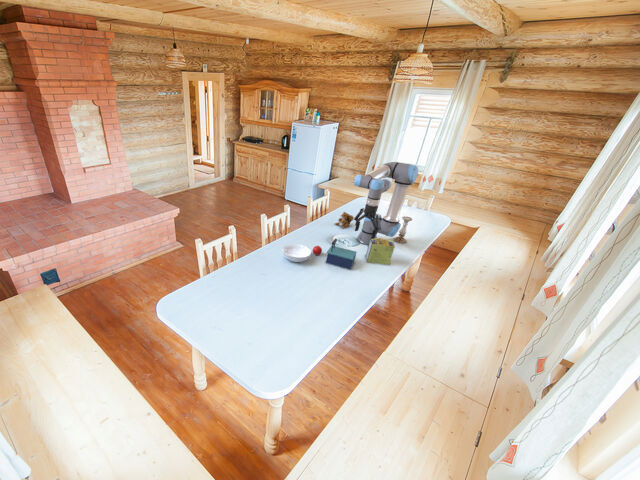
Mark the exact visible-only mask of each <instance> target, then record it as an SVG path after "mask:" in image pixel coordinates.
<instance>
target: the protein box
mask: <svg viewBox="0 0 640 480" xmlns="http://www.w3.org/2000/svg"><path fill="white" fill-rule="evenodd" d="M395 247H396V246H395V243H394V241H393V239H387V238H386V239H385V238H374V239H371V238H370V242H369V245H367V250H366V253H365V258H366V263H370V264H378V265H386V266H387V265H388V266H389V265H390V263H391V259H392V256H393V254H394V251H395V249H396V248H395Z"/></svg>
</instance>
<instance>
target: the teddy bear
mask: <svg viewBox="0 0 640 480" xmlns="http://www.w3.org/2000/svg"><path fill="white" fill-rule="evenodd" d="M339 217H340V218H338V219H337V221H338V222H336V223H335V225H336V226H340V227H341V228H342V229H346V228H347V227H348V226H349V225H350V224H351V223H352V222H353V221H354V218H355V217H354V216H353V215H351V214H350V213H347V212H346V211H343V212H342V214H341V215H339Z"/></svg>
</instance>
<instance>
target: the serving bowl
mask: <svg viewBox="0 0 640 480" xmlns="http://www.w3.org/2000/svg"><path fill="white" fill-rule="evenodd" d="M281 251H282V255H283V257H284V258H285V259H287V260H288V261H291V262H294V263H301V262H305V261H307V260H309V258H310V257H311V255H312V251H311V249H310V248H309V247H307V246H306V245H303V244H300V243H289V244H286V245H283V247H282V250H281Z"/></svg>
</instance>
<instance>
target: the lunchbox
mask: <svg viewBox="0 0 640 480" xmlns="http://www.w3.org/2000/svg"><path fill="white" fill-rule="evenodd" d="M356 256H357V253H356V254H355V256H354V258H353V260H350V259H347V258H343V257H339V256H335V255H332V254H328V253H326V261H325V264H329V265H333V266H335V267H340V268H341V269H342V268H343V269H347V270H351V269H352V267H353V265H354V263H355V261H356Z"/></svg>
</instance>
